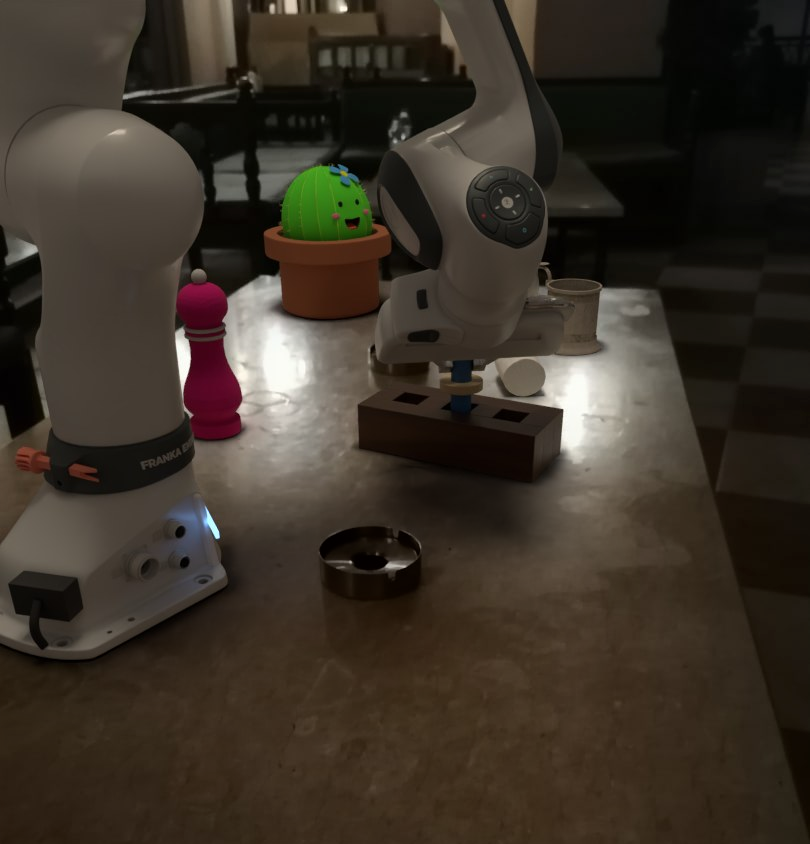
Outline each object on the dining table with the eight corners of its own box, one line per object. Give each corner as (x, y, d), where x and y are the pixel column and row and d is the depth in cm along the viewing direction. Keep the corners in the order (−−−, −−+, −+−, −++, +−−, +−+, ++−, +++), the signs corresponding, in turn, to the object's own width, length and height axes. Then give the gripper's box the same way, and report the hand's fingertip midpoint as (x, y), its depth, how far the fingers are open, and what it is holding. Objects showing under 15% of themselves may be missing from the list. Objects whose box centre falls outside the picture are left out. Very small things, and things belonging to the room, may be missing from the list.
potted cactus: (248, 306, 168) (235, 161, 156) (343, 287, 181) (337, 152, 169) (316, 331, 154) (307, 173, 142) (414, 308, 166) (414, 161, 154)
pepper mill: (233, 443, 111) (215, 277, 101) (178, 439, 112) (155, 274, 102) (253, 422, 117) (238, 263, 107) (201, 418, 118) (181, 261, 109)
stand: (532, 482, 100) (535, 436, 98) (358, 447, 109) (357, 404, 107) (560, 452, 107) (563, 408, 105) (395, 422, 117) (395, 380, 114)
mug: (613, 346, 145) (621, 269, 139) (574, 359, 139) (581, 279, 133) (543, 328, 154) (548, 255, 148) (504, 339, 148) (507, 264, 142)
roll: (529, 368, 135) (531, 331, 132) (544, 395, 125) (547, 356, 122) (489, 369, 135) (490, 332, 132) (501, 397, 124) (503, 357, 122)
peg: (471, 431, 104) (473, 336, 98) (432, 424, 106) (432, 331, 100) (488, 416, 108) (491, 325, 102) (450, 410, 110) (451, 320, 104)
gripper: (575, 270, 93) (545, 337, 106) (376, 279, 91) (370, 346, 104) (584, 325, 91) (552, 386, 104) (381, 335, 89) (375, 396, 102)
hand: (460, 366), depth 104 cm, fingers closed on peg, 2 cm apart
